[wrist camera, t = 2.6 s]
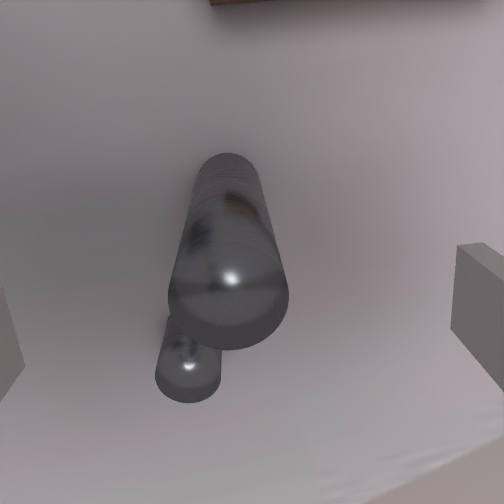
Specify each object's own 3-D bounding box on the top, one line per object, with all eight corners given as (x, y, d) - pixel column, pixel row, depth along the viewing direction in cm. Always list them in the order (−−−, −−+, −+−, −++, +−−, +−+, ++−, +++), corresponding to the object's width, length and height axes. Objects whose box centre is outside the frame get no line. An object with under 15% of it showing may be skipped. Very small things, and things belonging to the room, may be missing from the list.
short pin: (162, 306, 30) (150, 351, 25) (219, 300, 30) (217, 345, 25) (170, 354, 31) (160, 405, 26) (224, 349, 31) (224, 399, 26)
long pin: (193, 155, 26) (159, 247, 13) (256, 150, 26) (285, 236, 13) (200, 216, 28) (176, 355, 15) (261, 211, 28) (291, 344, 15)
